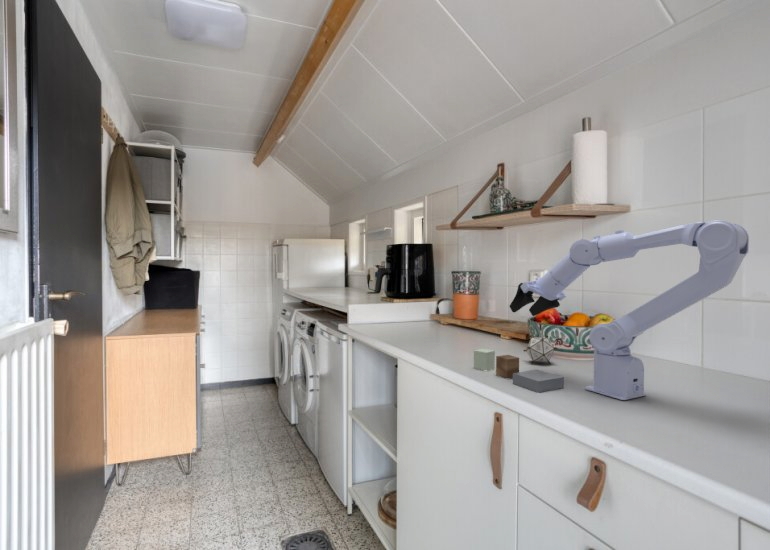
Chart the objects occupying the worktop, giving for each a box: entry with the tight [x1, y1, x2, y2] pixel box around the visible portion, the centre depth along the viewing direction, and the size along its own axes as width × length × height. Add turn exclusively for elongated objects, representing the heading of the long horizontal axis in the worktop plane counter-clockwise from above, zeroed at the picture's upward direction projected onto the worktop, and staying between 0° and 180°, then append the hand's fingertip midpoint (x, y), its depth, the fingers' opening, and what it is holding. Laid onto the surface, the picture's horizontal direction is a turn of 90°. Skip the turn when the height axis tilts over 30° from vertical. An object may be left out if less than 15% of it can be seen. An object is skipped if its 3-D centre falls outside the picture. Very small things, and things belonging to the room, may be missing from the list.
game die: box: [523, 334, 558, 365], centre depth 124 cm, size 9×8×10 cm
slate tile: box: [512, 369, 565, 393], centre depth 100 cm, size 8×8×2 cm
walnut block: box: [495, 354, 520, 379], centre depth 109 cm, size 4×4×5 cm
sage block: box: [473, 348, 496, 371], centre depth 117 cm, size 4×4×5 cm
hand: (521, 311), depth 112 cm, fingers open, 7 cm apart
